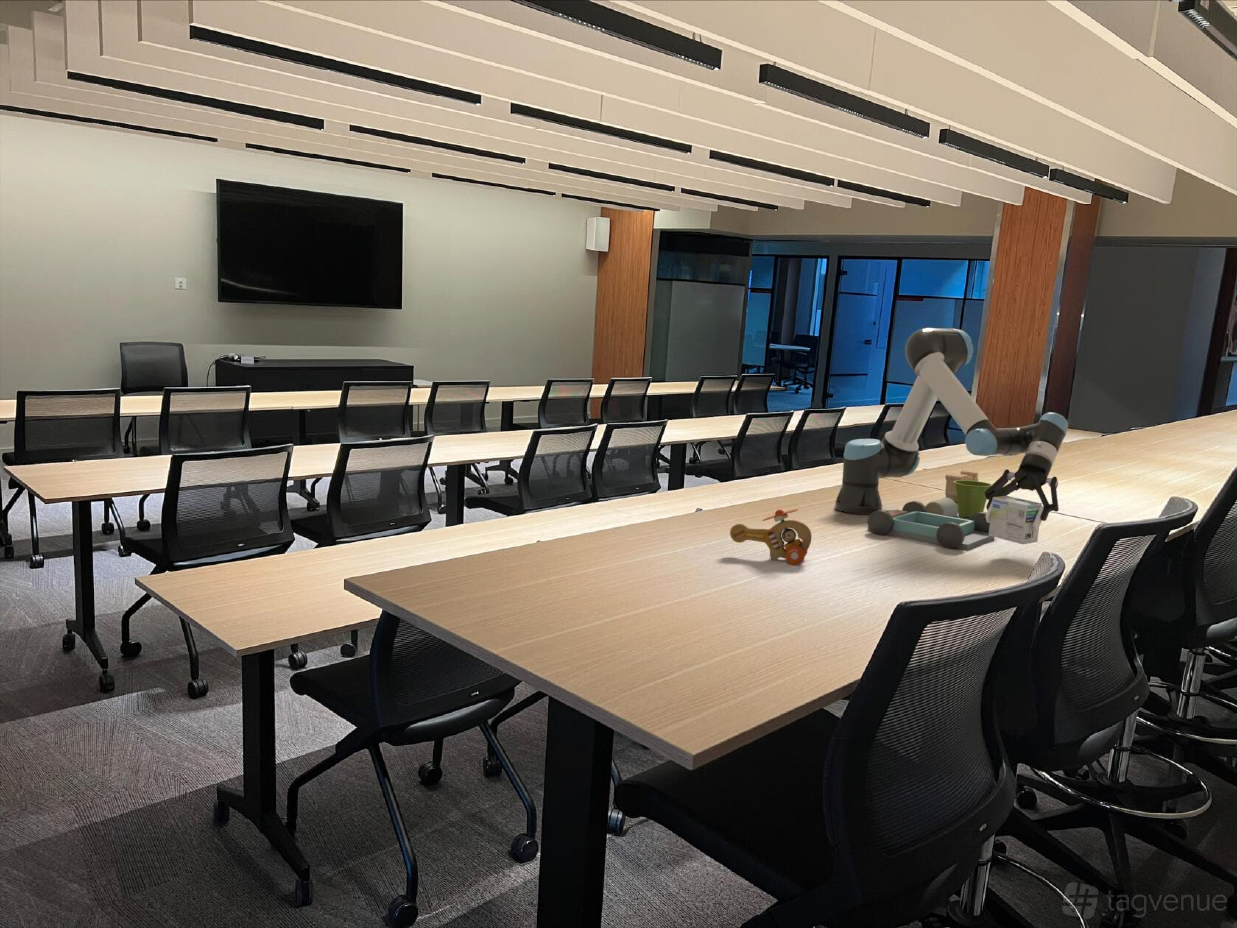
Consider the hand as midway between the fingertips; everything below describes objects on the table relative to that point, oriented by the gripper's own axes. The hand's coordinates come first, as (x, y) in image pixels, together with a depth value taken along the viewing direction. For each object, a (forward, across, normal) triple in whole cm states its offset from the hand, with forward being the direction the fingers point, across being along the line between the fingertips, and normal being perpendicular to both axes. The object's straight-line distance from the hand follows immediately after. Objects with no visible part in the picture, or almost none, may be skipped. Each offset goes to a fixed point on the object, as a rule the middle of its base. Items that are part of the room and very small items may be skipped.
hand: (1010, 524), depth 240 cm
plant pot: (-27, -30, +43) cm, 59 cm away
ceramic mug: (-15, -31, +30) cm, 46 cm away
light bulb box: (+1, 0, +5) cm, 5 cm away
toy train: (-46, -44, +62) cm, 89 cm away
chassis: (-2, -27, +16) cm, 31 cm away
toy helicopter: (+42, -42, -27) cm, 65 cm away
